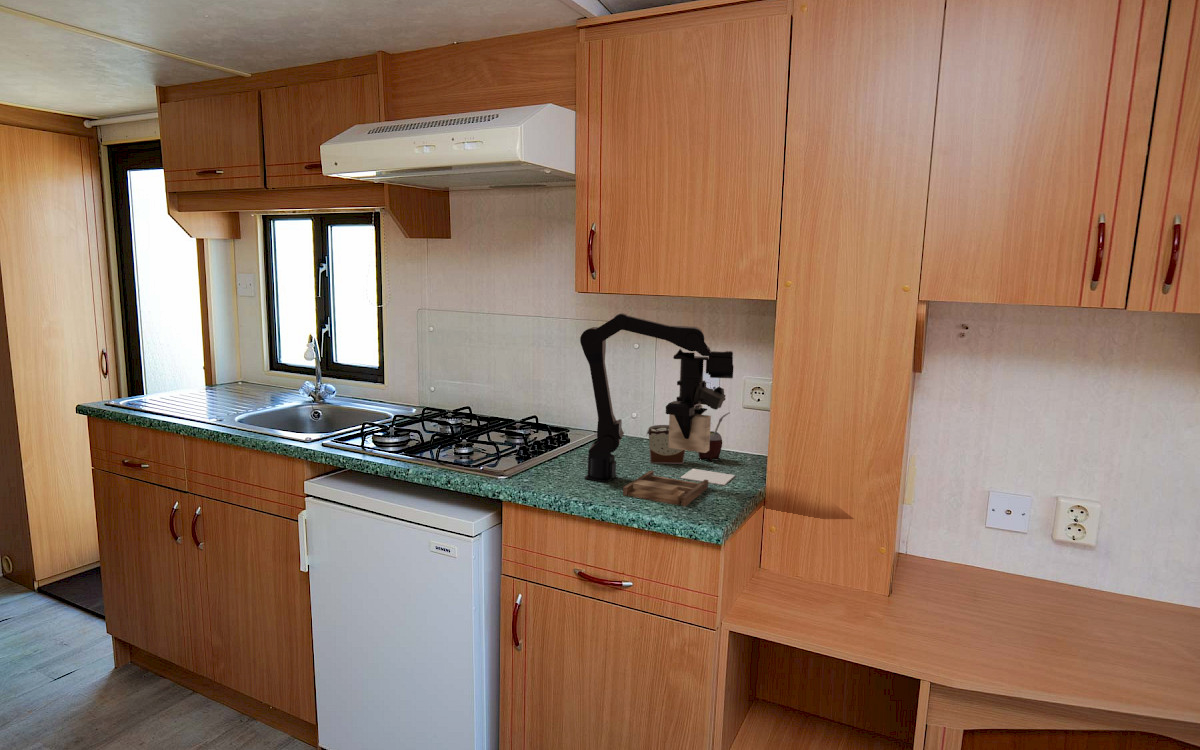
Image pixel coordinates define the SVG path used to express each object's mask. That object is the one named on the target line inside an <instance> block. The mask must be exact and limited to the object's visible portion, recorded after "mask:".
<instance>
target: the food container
mask: <svg viewBox="0 0 1200 750" xmlns="http://www.w3.org/2000/svg"><path fill="white" fill-rule="evenodd" d="M646 436H648V443H649V444H648V445H649V458H650V459H649V460H650V464H674V465H675V464H679V465H680V464H681V465H683V464H684V462H685V461H684V460H685V454H686V450H681V449H674V448H668V445H669V424H656V425H655V424H654V425H651V426H649V427H648V429H647V432H646Z"/></svg>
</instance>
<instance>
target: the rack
mask: <svg viewBox="0 0 1200 750" xmlns="http://www.w3.org/2000/svg"><path fill="white" fill-rule="evenodd" d="M654 473H655V471H653V470H649V471H647V472H646V473H644V474H643V475H641V476H639V477H638V478H636V479H634V480H633V481H631V482H629V483H628V484H626V485H624V486H623V487H622V496H625V495H626V497H628V493H629V492H630V491H632V490H634V488H633V483H635V482H636V481H638V480H646V481H651V482H657V483H663V484H669V485H675V486H678V490H679V491H685V493H684V496H683V497H682V500H681V504H680V506H681V507H687V506H688V505H689V504H690V503H691V502H693V501H694V500H695V499H696V498H697V497H699V496H700V495H701V494H702V493H703V492H705V491H706V490H707V489H708V488H709V483H708V480H704V481H702V482H696V481H690V480H684V479H675V478H670V477H664V476H658V475H654Z"/></svg>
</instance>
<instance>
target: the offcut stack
mask: <svg viewBox="0 0 1200 750" xmlns="http://www.w3.org/2000/svg"><path fill="white" fill-rule="evenodd" d="M633 488H634V490H632V491H630V492H629V493H628V495H627V497H630V496H633V497H632V498H636V497H638V498H637V499H641V498H643V500H647V499H649V500H648V501H652V500H653V502H659V503H664V504H670V505H674V506H675V505H676V506H681V500H682V497H683V496H684V495H685V494H684V493H685V491H679V490H678V486H675V485H669V484H663V483H657V482H651V480H650V481H646V480H638V481H636V482H635V483H633Z"/></svg>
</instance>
